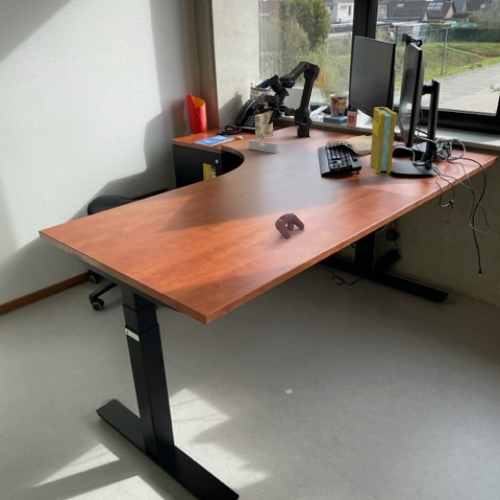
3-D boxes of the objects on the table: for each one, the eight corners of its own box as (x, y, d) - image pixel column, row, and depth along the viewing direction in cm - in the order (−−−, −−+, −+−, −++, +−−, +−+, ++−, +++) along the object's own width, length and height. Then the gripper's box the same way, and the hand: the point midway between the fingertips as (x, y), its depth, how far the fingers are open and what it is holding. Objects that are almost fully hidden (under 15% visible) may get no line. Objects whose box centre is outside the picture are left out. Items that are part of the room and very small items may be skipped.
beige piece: (352, 143, 260) (324, 146, 250) (354, 129, 257) (326, 131, 247) (386, 154, 241) (356, 157, 231) (388, 139, 238) (359, 141, 228)
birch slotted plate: (269, 135, 251) (268, 111, 246) (272, 135, 250) (272, 111, 244) (255, 139, 243) (254, 115, 238) (259, 140, 242) (258, 115, 236)
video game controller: (296, 230, 159) (288, 211, 158) (306, 227, 156) (298, 208, 155) (278, 241, 152) (270, 221, 151) (289, 238, 149) (280, 217, 148)
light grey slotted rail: (249, 148, 255) (248, 140, 253) (251, 147, 256) (251, 139, 254) (276, 153, 244) (275, 144, 242) (278, 152, 245) (278, 143, 243)
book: (391, 173, 206) (397, 113, 195) (375, 173, 206) (380, 114, 196) (382, 162, 221) (387, 106, 210) (368, 162, 222) (371, 107, 211)
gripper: (257, 87, 247) (245, 112, 244) (287, 89, 236) (274, 115, 233) (267, 100, 256) (255, 125, 253) (296, 103, 245) (284, 128, 242)
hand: (266, 123), depth 245 cm, fingers closed on birch slotted plate, 2 cm apart
